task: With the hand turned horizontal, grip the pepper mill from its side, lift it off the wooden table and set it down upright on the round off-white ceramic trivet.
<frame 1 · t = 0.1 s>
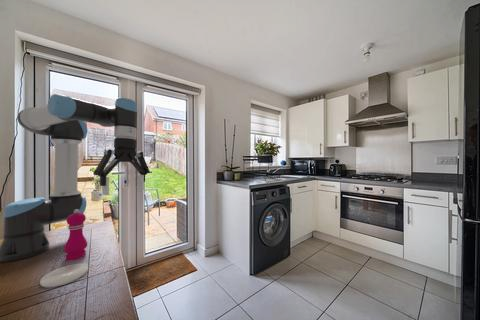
hand: (124, 192, 71), 28 cm above the table, tool pointing down, fingers open, 13 cm apart
pepper mill: (75, 257, 76), on the table
trivet: (65, 275, 63), on the table
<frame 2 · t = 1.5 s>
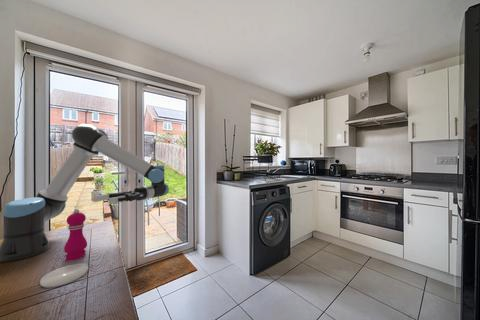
hand: (101, 200, 85), 22 cm above the table, tool horizontal, fingers open, 13 cm apart
nothing on the table moved.
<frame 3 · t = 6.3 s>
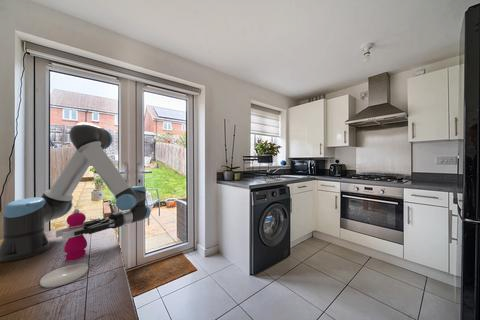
hand: (59, 235, 71), 11 cm above the table, tool horizontal, fingers closed on pepper mill, 5 cm apart
pepper mill: (75, 257, 76), on the table, touching gripper
when the fingers open (13 cm above the table, at t = 12.0 s): pepper mill stays where it is, resting on trivet.
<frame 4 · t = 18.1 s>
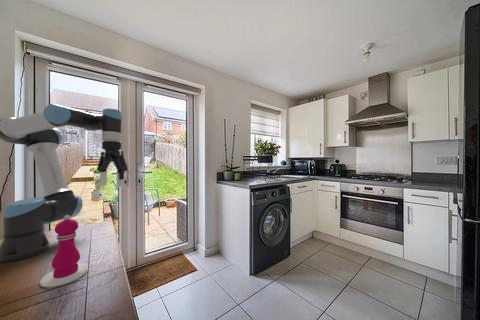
hand: (111, 185, 86), 29 cm above the table, tool pointing down, fingers open, 13 cm apart
pepper mill: (66, 273, 63), point 1 cm above the table, touching trivet
at the end: pepper mill 0.1 cm from the trivet (horizontally); pepper mill tilted 0°; the gripper is holding nothing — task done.
